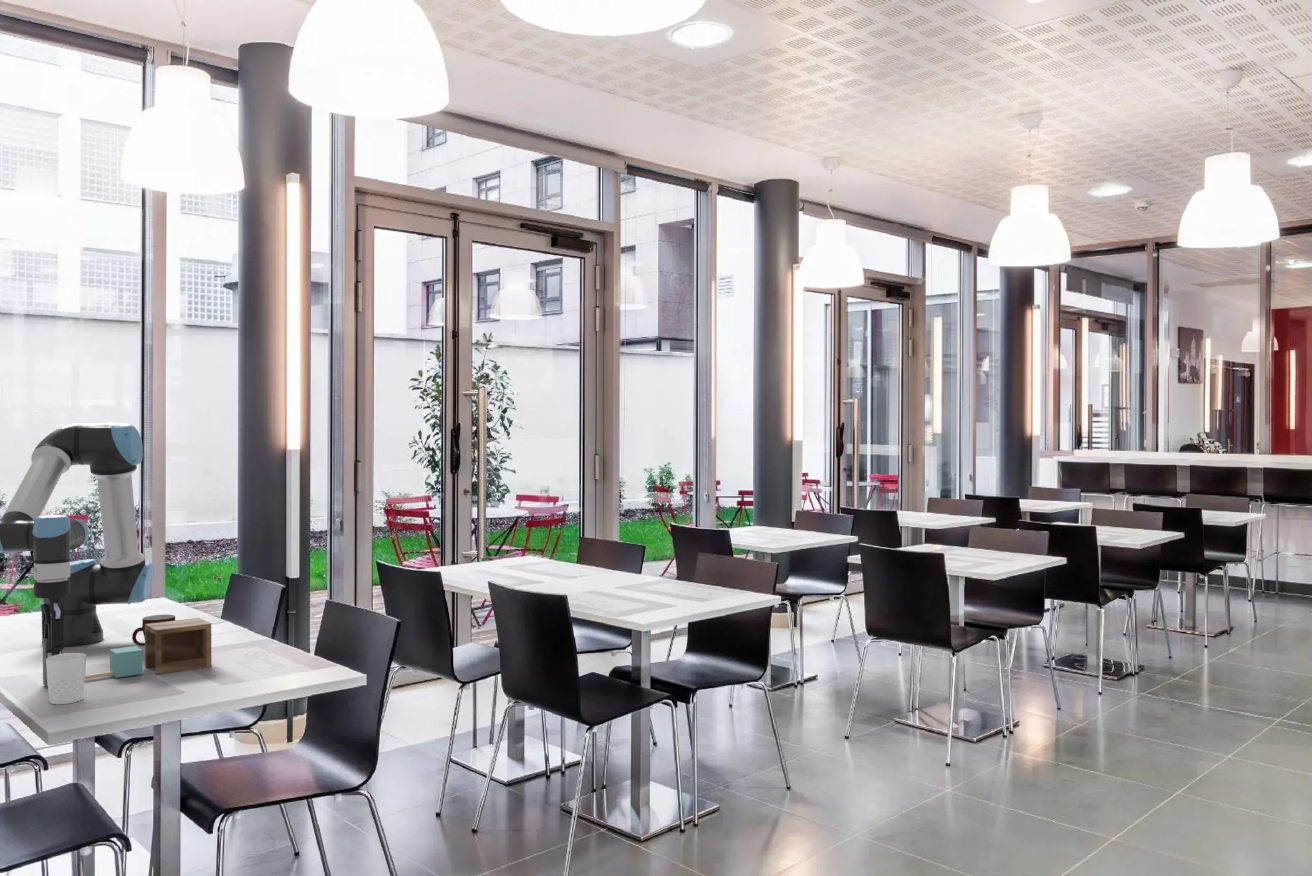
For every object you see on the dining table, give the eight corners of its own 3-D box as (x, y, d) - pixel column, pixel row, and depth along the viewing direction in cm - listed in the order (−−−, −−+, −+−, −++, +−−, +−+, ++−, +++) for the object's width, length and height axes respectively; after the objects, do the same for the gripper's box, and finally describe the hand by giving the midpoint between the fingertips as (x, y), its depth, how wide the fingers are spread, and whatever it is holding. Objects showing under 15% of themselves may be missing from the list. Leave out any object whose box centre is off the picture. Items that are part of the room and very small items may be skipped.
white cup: (57, 696, 230) (57, 653, 230) (92, 695, 231) (92, 652, 230) (39, 706, 222) (38, 661, 222) (76, 705, 223) (75, 660, 223)
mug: (132, 659, 266) (132, 622, 266) (132, 653, 274) (131, 617, 273) (176, 654, 272) (176, 618, 271) (174, 649, 279) (174, 613, 279)
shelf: (145, 667, 257) (144, 624, 257) (198, 659, 266) (198, 617, 266) (156, 674, 250) (156, 630, 250) (211, 666, 258) (211, 623, 258)
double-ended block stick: (42, 683, 240) (41, 637, 240) (136, 669, 254) (135, 626, 254) (47, 688, 236) (46, 641, 236) (142, 673, 250) (142, 630, 249)
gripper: (27, 577, 243) (28, 673, 243) (40, 585, 230) (41, 686, 231) (62, 574, 248) (63, 668, 248) (77, 582, 235) (78, 681, 236)
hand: (52, 677), depth 239 cm, fingers closed on double-ended block stick, 3 cm apart
